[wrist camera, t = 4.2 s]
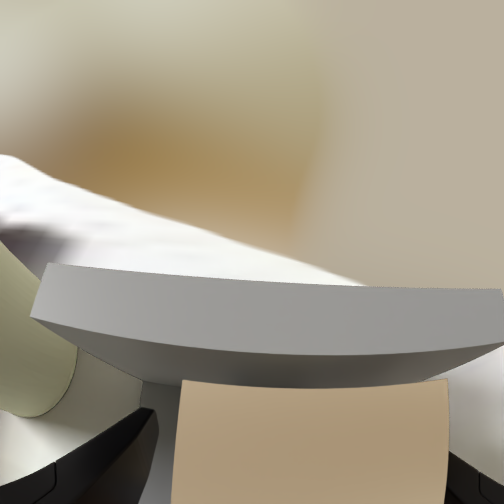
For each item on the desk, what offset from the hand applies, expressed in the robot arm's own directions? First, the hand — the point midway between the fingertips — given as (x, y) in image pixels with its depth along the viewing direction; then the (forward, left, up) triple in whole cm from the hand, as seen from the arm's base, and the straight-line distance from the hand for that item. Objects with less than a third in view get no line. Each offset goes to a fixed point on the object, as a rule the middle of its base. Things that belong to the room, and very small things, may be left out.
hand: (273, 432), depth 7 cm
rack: (-4, -3, -7) cm, 9 cm away
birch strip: (-1, -1, -6) cm, 6 cm away
